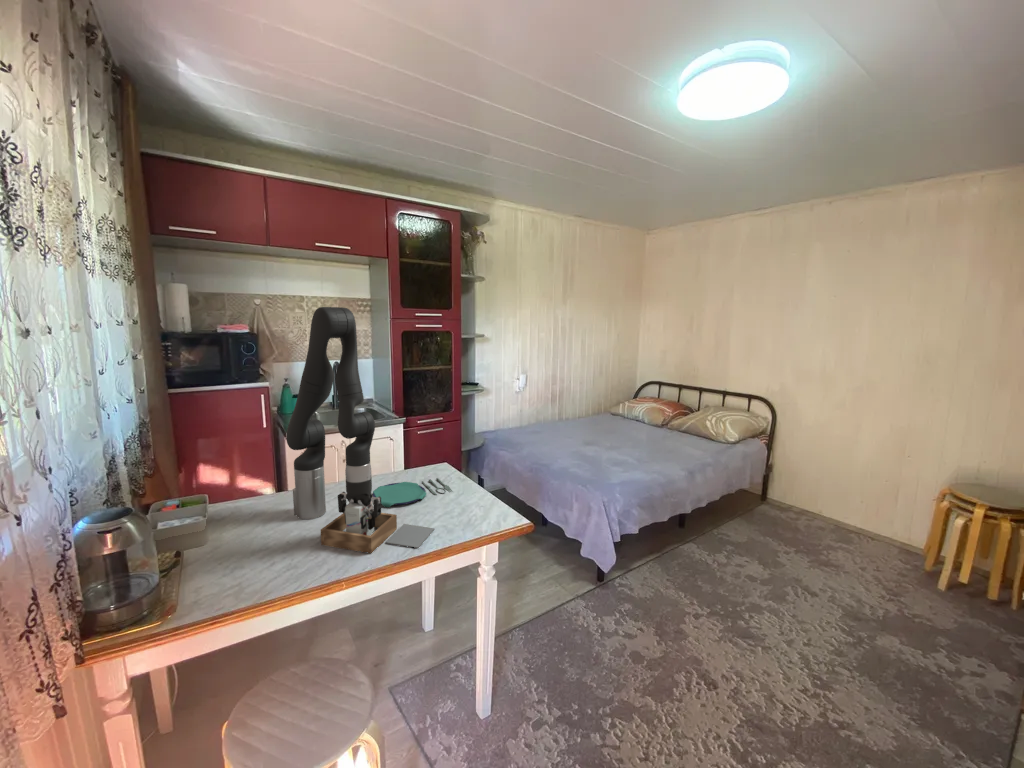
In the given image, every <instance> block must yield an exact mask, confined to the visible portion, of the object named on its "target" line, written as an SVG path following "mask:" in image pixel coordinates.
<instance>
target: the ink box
mask: <svg viewBox="0 0 1024 768" xmlns="http://www.w3.org/2000/svg"><path fill="white" fill-rule="evenodd" d="M371 503H373V502H372V501H371ZM372 505H373V504H372ZM373 506H374V505H373ZM366 508H367V509H368V506H367V507H366ZM345 510H346V529H345V532H350V533H357V534H363V535H369V536H370V535H371V534H372V533H374V532H375V527H373V528H372V529H371V530H369V529H368V516H367V514H366V513H364V511H363V506H362V505H359V504H357V503H353V504H351V503H349V502H348V503H347V505H346V507H345ZM370 513H371V512H370Z"/></svg>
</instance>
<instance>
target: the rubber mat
mask: <svg viewBox="0 0 1024 768" xmlns="http://www.w3.org/2000/svg"><path fill="white" fill-rule="evenodd" d="M435 529H436V527H435V528H434V527H429V526H421V525H415V524H414V525H413V524H410V523H409V524H408V523H403V524H402V525H401V526H400V527H399V528H397V529H396V530H395V531H394V532H393V533H392V534H391V535H390V536H389V537H388V538H387V539H386V540H385V541H384V543H386V544H387V545H391V544H392V546H397V545H400V546H399V547H403V546H408V547H407V548H409V547H414V548H413V549H415V548H419V547H420V546H421V547H422V545H423V544H424V543H425V542H426V541H427V539H428V538H429V537H430V536H431V535H432V533H433V532H434V531H435ZM430 534H431V535H430ZM425 540H426V541H425ZM424 541H425V542H424ZM423 542H424V543H423ZM422 543H423V544H422ZM386 544H385V545H386ZM421 547H420V548H421ZM420 548H419V549H420Z"/></svg>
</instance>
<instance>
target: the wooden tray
mask: <svg viewBox="0 0 1024 768" xmlns="http://www.w3.org/2000/svg"><path fill="white" fill-rule="evenodd" d="M397 518H398V517H397V514H394V513H387V512H381V514H380V515H379V516H378V517H377V518H375V526H374V528H376V530H374V532H373V533H372V534H371V535H363V534H357V533H350V532H346V531H344V530H346V523H345V515H344V513H341V514H340V515H339V516H337V517H336V518H335V519H334V520H331V522H329V523H328V524H326V525H325V526H323V527H322V528H321V529H320V542H321V543H320V544H321V546H323V547H324V546H325V547H332V548H336V549H337V548H338V549H341V550H342V549H343V550H349V551H356V552H359V551H361V553H365V552H368V553H367V554H371V553H372V552H373V551H374V550H375V549H376V548H377V547H378V548H379V547H380V546H381V545H382V544H383V543H385V542H386V541H387V540H388V539H389V538H390V537H391V536H392V535H393V534H394V533H395V532H396V531H397V530H398V526H397V524H398V519H397ZM378 548H377V549H378ZM377 549H376V550H377ZM376 550H375V551H376ZM375 551H374V552H375ZM374 552H373V553H374ZM373 553H372V554H373Z"/></svg>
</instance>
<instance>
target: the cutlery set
mask: <svg viewBox="0 0 1024 768" xmlns="http://www.w3.org/2000/svg"><path fill="white" fill-rule="evenodd" d="M435 481H437V482H438V483H439V484H440V483H441V484H440V485H441V486H443V487H444V488H442V487H438V486H437V484H436V483H435V482H434V481H433V480H432V479H428V482H429V483H431V484H432V485H433V486H434V487H435V488H436V491H437V492H435V491H434V490H433V489H432V488H431V486H430V485H428V484H427V483H425V482H424V480H423V481H421V483H422V484H423V485H425V486H426V489H428V490H429V491H430V493H431V494H432V495H434V496H438V494H437V493H439V494H441V492H440V491H438V490H442V491H444V492H443V494H445V493H446V492H447V491H448V492H449V493H450V492H451V493H452V492H453V493H454V491H453V490H452V488H451V487H450V486H449V485H447V484H445V483H444V482H443V481H442V480H441V479H440V478H439V477H436V480H435ZM426 489H425V487H423V486H421V485H420V484H418V483H417V482H410V481H401V482H394V483H389V484H388V483H387V484H385V485H380V486H378V487H376V488H375V489H374V490H372V493H371V494H372V496H373V497H376V498H377V497H379V496H380V497H381V506H382V507H384V508H386V507H388V508H390V507H392V506H401V505H407V504H408V505H410V504H413V503H416V502H418V501H420V500H421V501H422V500H424V498H425V497H426V496H427V492H426V491H427V490H426Z"/></svg>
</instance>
